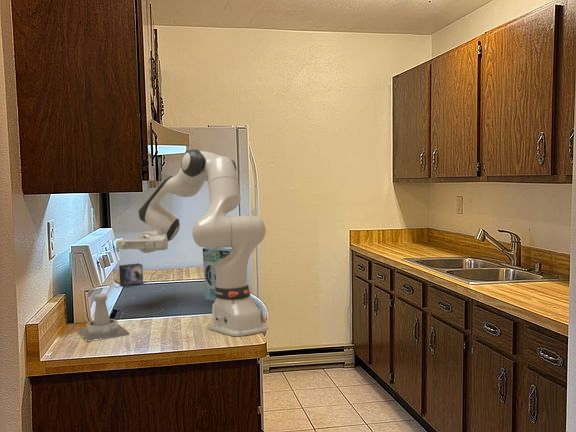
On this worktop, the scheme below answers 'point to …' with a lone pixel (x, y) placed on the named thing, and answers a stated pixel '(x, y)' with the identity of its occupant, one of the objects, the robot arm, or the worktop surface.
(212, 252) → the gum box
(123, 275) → the small box
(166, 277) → the worktop surface
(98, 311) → the salt shaker
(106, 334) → the duct flange
